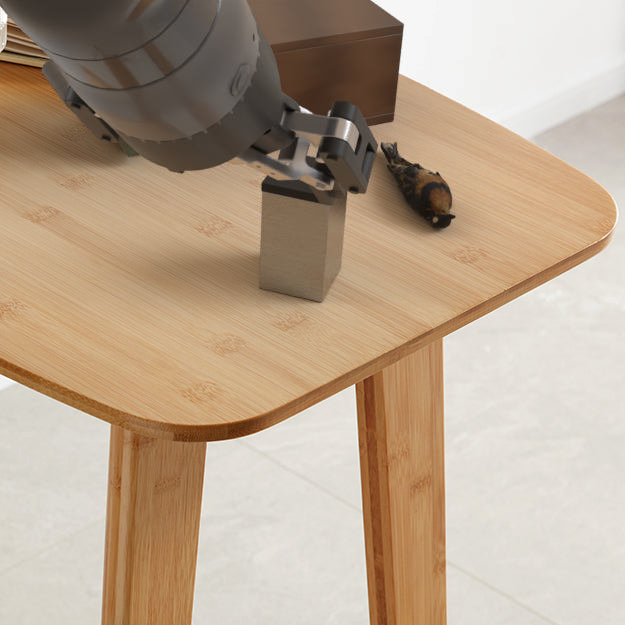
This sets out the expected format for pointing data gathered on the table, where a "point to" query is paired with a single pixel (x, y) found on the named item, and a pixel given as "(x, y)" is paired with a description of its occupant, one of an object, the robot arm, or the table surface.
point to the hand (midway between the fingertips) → (256, 171)
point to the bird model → (420, 187)
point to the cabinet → (334, 53)
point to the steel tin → (299, 239)
